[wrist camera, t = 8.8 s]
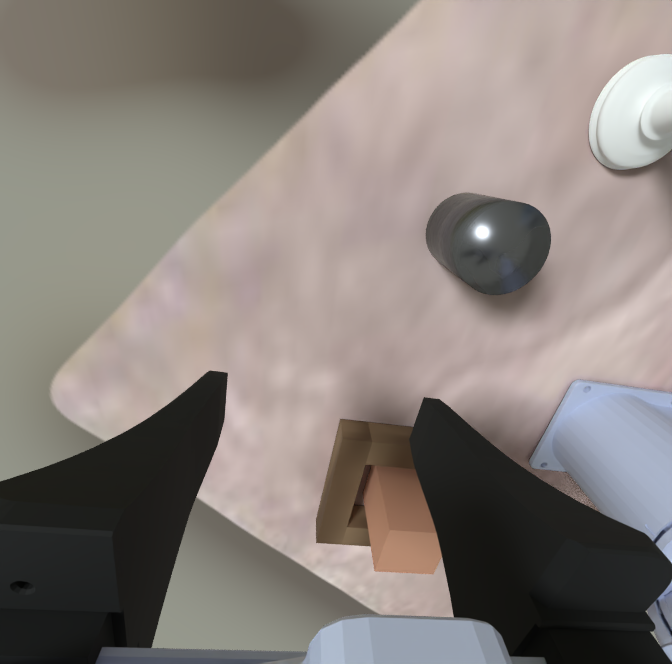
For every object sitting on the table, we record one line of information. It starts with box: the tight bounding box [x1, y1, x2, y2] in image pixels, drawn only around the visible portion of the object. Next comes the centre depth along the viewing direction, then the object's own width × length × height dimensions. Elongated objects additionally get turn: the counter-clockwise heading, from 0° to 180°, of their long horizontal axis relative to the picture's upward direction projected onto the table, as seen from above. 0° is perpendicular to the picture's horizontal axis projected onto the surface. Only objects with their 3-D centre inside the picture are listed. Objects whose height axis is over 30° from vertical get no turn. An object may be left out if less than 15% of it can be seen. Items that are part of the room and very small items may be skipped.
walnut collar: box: [316, 419, 415, 546], centre depth 27 cm, size 10×10×2 cm
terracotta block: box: [363, 465, 442, 574], centre depth 25 cm, size 4×4×6 cm
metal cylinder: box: [426, 193, 551, 295], centre depth 18 cm, size 4×4×5 cm
